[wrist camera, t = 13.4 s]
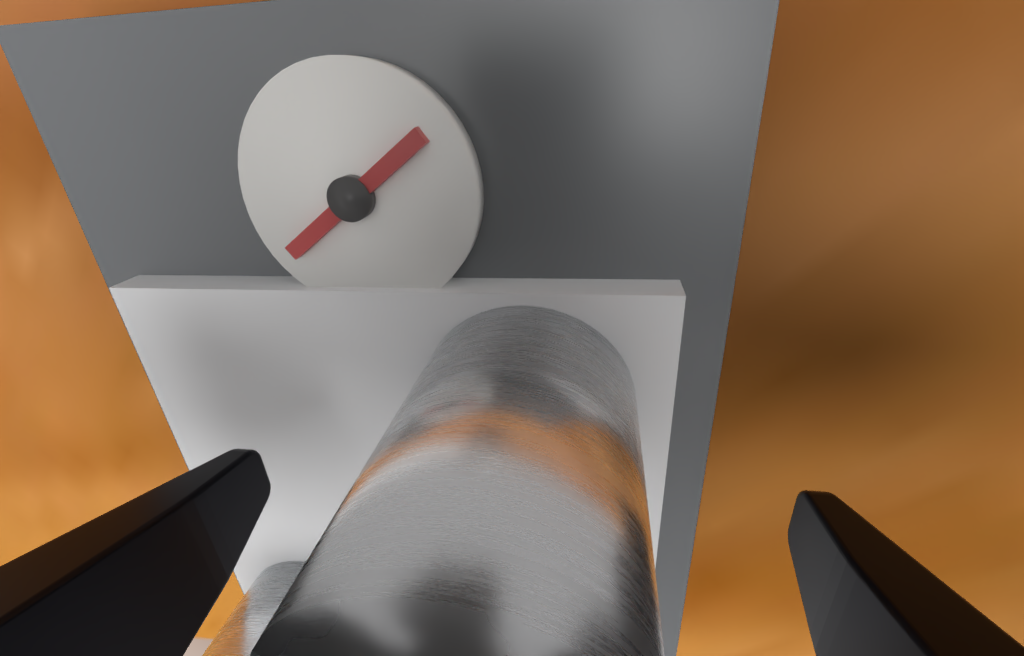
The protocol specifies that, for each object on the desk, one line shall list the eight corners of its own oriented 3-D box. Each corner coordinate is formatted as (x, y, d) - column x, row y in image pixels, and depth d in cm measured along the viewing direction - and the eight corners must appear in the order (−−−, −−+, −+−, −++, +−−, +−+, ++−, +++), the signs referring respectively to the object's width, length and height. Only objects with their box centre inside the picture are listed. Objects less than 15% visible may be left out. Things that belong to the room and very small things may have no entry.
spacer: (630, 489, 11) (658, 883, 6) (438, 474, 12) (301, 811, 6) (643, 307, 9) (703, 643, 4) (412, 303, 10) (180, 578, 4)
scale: (749, -23, 9) (810, -64, 6) (662, 636, 17) (672, 733, 15) (88, 34, 11) (-64, 21, 9) (295, 590, 20) (248, 667, 17)
